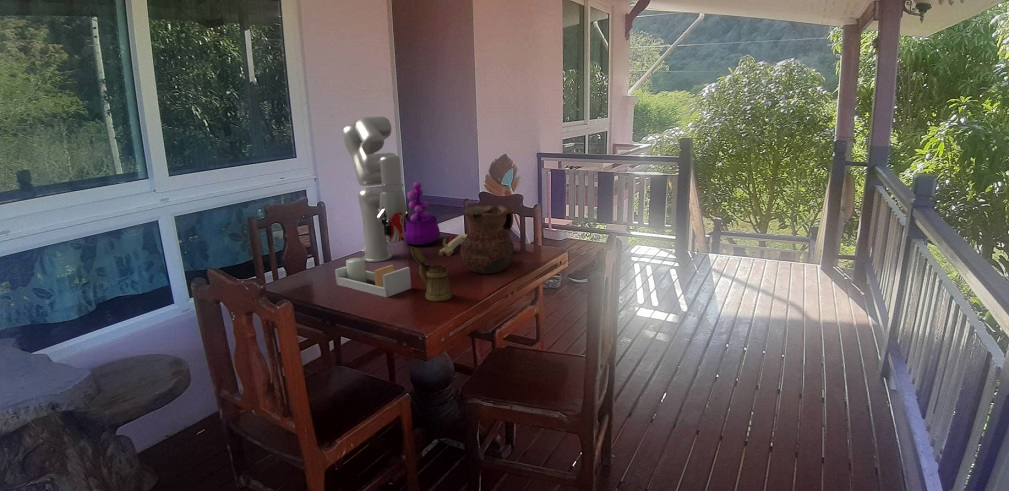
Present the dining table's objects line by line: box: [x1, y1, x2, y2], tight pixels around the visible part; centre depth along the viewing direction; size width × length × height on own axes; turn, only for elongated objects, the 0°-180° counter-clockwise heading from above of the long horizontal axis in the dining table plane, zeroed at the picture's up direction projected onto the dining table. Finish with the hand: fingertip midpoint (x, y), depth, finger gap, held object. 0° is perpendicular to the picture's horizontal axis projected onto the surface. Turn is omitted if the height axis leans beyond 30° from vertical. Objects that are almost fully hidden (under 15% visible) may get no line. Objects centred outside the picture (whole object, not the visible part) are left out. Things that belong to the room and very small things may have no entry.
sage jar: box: [345, 257, 368, 284], centre depth 224 cm, size 7×7×9 cm
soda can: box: [386, 211, 405, 244], centre depth 228 cm, size 7×7×12 cm
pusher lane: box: [334, 266, 412, 298], centre depth 218 cm, size 28×12×8 cm, turn 53°
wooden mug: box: [411, 246, 453, 302], centre depth 203 cm, size 9×14×18 cm, turn 74°
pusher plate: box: [373, 264, 395, 287], centre depth 214 cm, size 1×8×8 cm, turn 143°
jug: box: [460, 204, 515, 275], centre depth 233 cm, size 22×21×25 cm
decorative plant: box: [402, 181, 441, 246], centre depth 280 cm, size 19×18×30 cm
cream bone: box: [438, 233, 469, 257], centre depth 270 cm, size 10×9×25 cm
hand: (395, 233), depth 228 cm, fingers closed on soda can, 7 cm apart
